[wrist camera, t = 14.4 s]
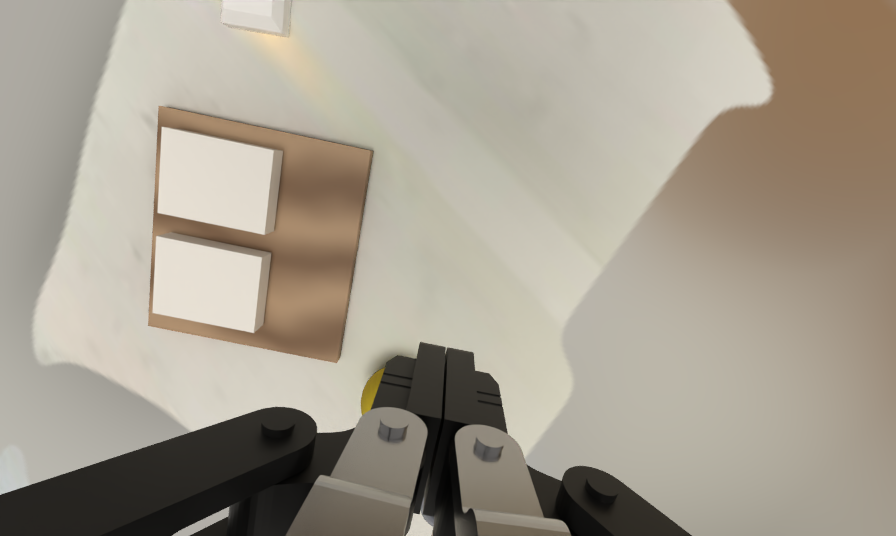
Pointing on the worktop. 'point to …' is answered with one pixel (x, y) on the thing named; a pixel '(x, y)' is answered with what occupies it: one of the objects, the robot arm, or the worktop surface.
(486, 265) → the worktop surface
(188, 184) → the tile near
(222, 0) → the white light switch
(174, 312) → the tile far
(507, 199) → the worktop surface
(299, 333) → the board
